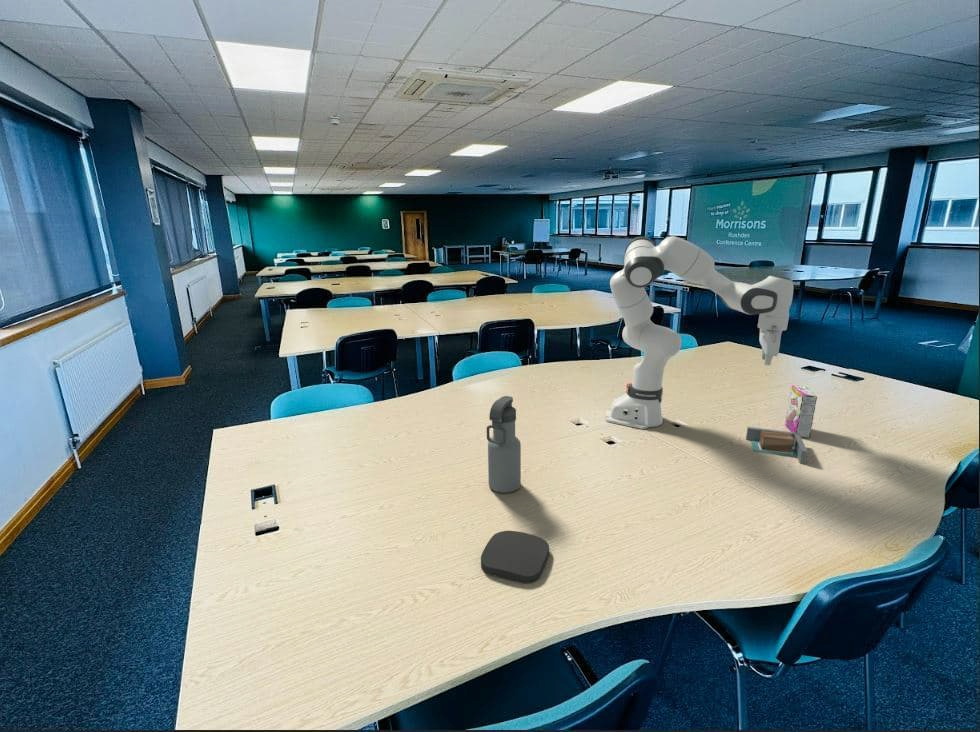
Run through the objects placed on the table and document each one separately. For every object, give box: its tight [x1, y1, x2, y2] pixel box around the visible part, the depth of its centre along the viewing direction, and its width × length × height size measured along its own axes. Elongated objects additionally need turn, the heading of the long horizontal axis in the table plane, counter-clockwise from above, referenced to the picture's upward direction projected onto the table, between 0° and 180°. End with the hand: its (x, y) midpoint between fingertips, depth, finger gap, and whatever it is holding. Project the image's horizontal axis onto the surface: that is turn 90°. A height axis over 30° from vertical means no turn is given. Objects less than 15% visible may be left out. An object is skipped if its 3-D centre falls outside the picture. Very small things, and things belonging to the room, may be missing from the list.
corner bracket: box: [745, 426, 808, 465], centre depth 167 cm, size 16×15×4 cm
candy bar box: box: [784, 384, 818, 439], centre depth 179 cm, size 11×5×16 cm, turn 168°
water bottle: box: [486, 395, 522, 494], centre depth 144 cm, size 10×10×28 cm
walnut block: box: [758, 431, 794, 453], centre depth 167 cm, size 4×9×5 cm, turn 72°
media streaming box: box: [480, 530, 550, 584], centre depth 116 cm, size 15×15×3 cm
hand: (765, 362), depth 171 cm, fingers open, 6 cm apart
